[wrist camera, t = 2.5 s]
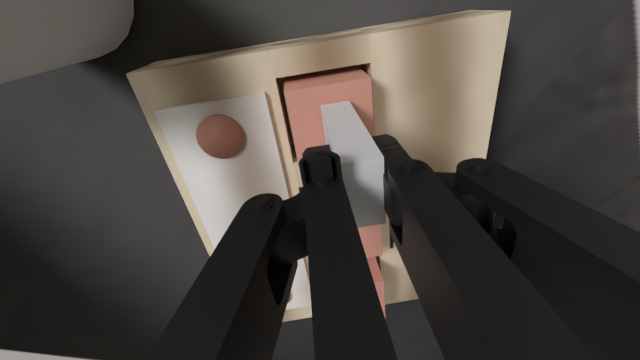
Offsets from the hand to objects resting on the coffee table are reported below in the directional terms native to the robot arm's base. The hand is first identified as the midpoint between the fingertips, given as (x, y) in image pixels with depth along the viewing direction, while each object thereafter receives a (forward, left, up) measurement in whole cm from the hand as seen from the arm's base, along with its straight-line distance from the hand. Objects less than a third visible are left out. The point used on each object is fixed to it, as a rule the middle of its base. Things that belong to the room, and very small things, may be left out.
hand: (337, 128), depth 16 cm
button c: (0, 0, -4) cm, 4 cm away
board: (0, -7, -6) cm, 9 cm away
